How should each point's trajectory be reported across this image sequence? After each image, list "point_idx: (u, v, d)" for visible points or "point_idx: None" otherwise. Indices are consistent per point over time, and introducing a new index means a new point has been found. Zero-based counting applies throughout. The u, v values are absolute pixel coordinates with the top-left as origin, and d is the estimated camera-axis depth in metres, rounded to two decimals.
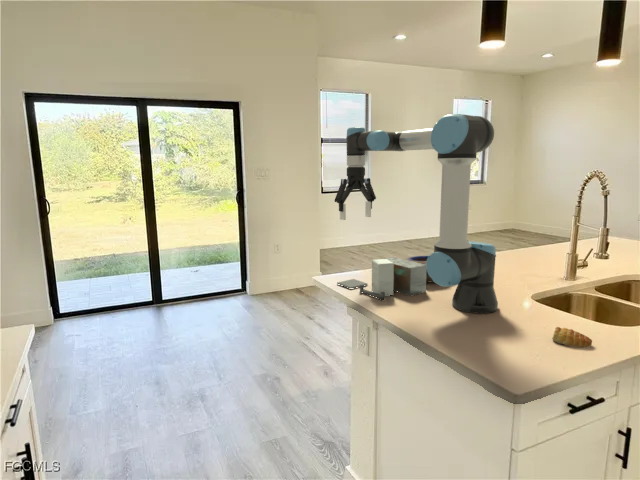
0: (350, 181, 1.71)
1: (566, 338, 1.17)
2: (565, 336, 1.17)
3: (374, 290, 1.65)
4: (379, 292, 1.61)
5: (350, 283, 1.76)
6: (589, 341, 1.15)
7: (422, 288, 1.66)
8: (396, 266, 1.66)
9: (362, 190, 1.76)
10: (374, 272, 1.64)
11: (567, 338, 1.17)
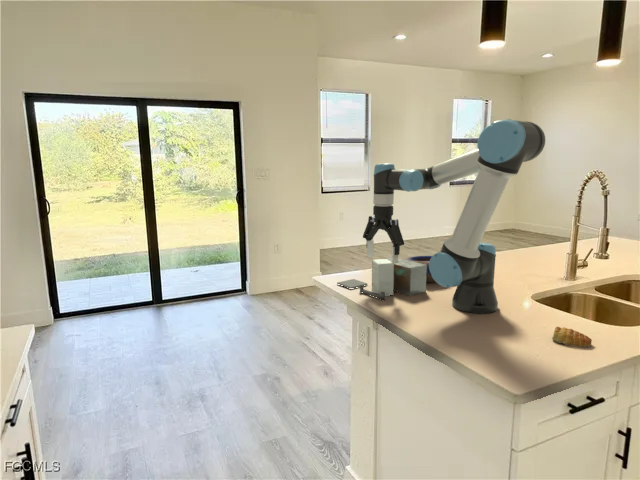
0: (374, 219, 1.63)
1: (565, 338, 1.17)
2: (565, 336, 1.17)
3: (374, 290, 1.65)
4: (379, 292, 1.61)
5: (350, 283, 1.76)
6: (589, 340, 1.16)
7: (422, 288, 1.66)
8: (396, 266, 1.66)
9: None
10: (374, 272, 1.64)
11: (567, 338, 1.17)
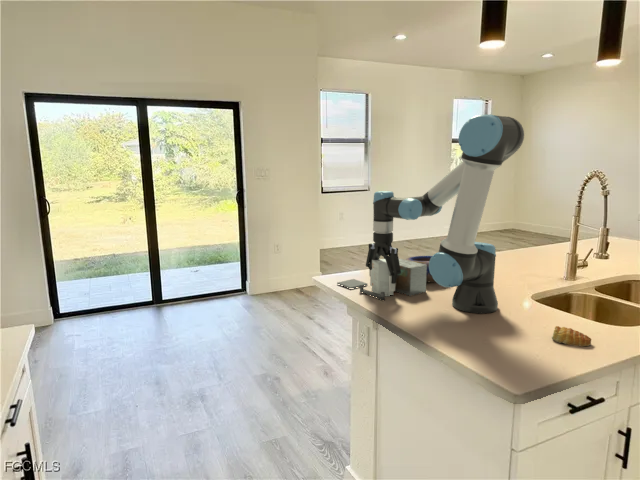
0: (374, 245, 1.65)
1: (565, 337, 1.17)
2: (565, 336, 1.18)
3: (374, 290, 1.65)
4: (379, 292, 1.61)
5: (350, 283, 1.76)
6: (588, 340, 1.16)
7: (422, 288, 1.66)
8: None
9: None
10: (374, 272, 1.64)
11: (567, 337, 1.17)
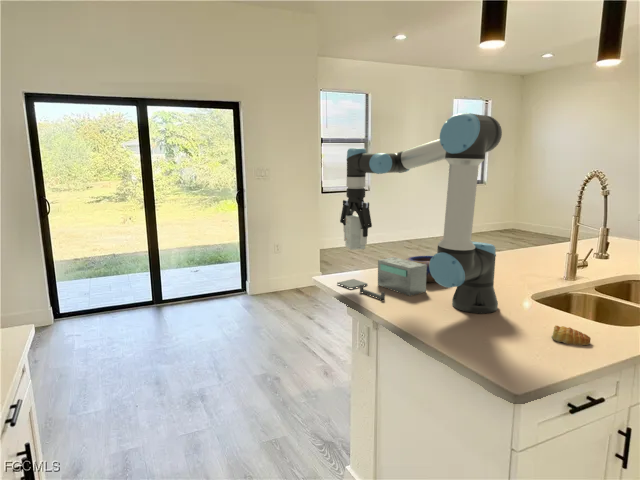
0: (348, 201, 1.72)
1: (565, 337, 1.18)
2: (565, 335, 1.18)
3: (347, 244, 1.72)
4: (351, 245, 1.69)
5: (350, 283, 1.76)
6: (588, 339, 1.17)
7: (422, 288, 1.66)
8: (396, 266, 1.66)
9: None
10: (347, 227, 1.71)
11: (567, 337, 1.18)
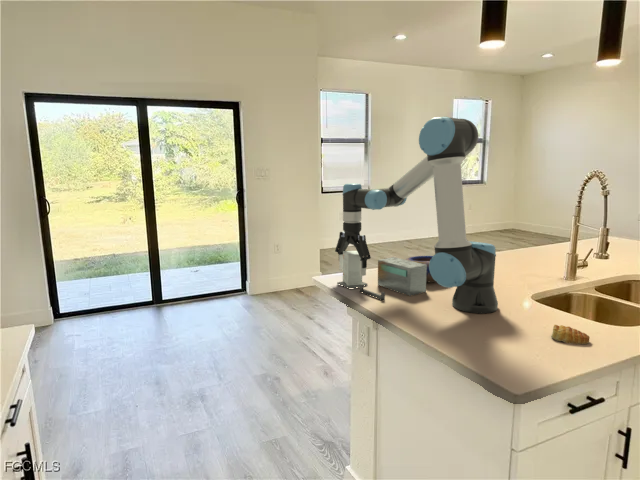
0: (344, 235, 1.76)
1: (565, 336, 1.19)
2: (565, 334, 1.19)
3: (345, 279, 1.76)
4: (348, 281, 1.73)
5: None
6: (587, 337, 1.18)
7: (422, 288, 1.66)
8: (396, 266, 1.66)
9: None
10: (345, 263, 1.75)
11: (567, 336, 1.18)
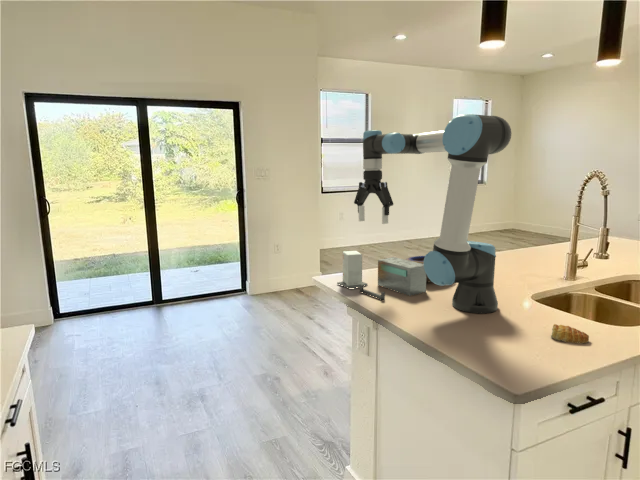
0: (364, 184, 1.73)
1: (565, 335, 1.19)
2: (564, 333, 1.19)
3: (344, 279, 1.76)
4: (348, 281, 1.73)
5: None
6: (587, 337, 1.18)
7: (422, 288, 1.66)
8: (396, 266, 1.66)
9: None
10: (344, 263, 1.75)
11: (566, 335, 1.19)
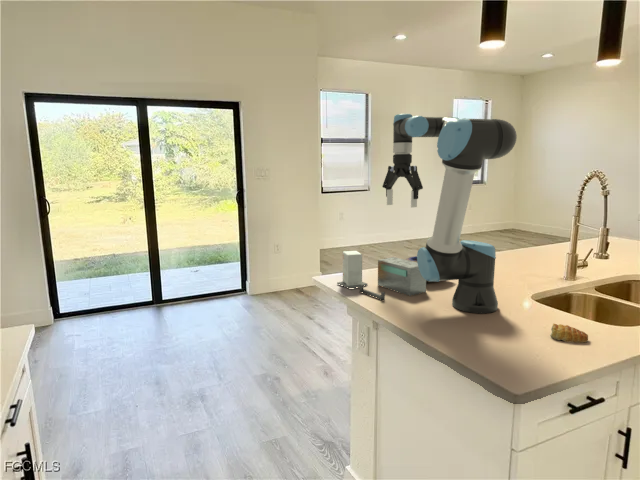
0: (393, 168, 1.75)
1: (564, 334, 1.19)
2: (564, 333, 1.20)
3: (344, 279, 1.76)
4: (348, 281, 1.73)
5: None
6: (586, 336, 1.19)
7: (422, 288, 1.66)
8: (396, 266, 1.66)
9: None
10: (344, 263, 1.75)
11: (566, 334, 1.19)
